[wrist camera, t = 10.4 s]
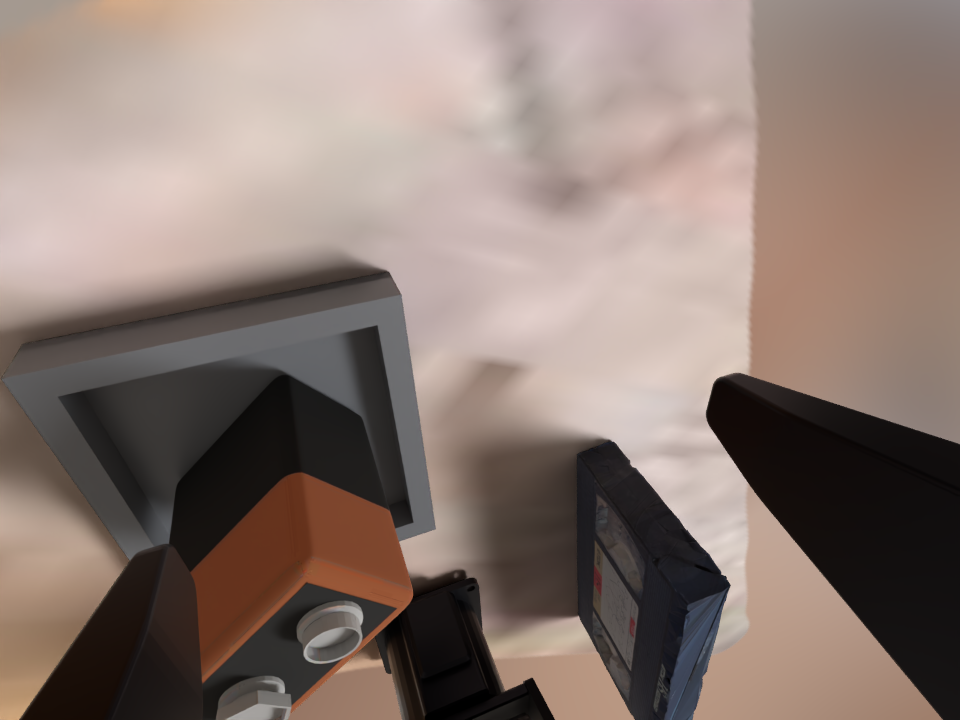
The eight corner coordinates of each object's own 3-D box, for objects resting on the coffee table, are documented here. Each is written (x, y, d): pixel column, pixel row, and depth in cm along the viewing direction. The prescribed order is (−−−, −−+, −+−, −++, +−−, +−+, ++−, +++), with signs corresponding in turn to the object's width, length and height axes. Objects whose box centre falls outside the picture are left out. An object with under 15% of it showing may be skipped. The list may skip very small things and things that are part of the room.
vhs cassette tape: (573, 450, 30) (688, 606, 23) (619, 434, 31) (746, 580, 23) (571, 618, 41) (648, 763, 33) (605, 603, 42) (688, 741, 34)
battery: (170, 483, 21) (132, 761, 14) (280, 365, 20) (306, 594, 13) (265, 517, 24) (278, 765, 16) (366, 413, 23) (432, 627, 15)
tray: (424, 499, 28) (435, 529, 26) (174, 578, 25) (170, 617, 23) (388, 271, 20) (401, 294, 19) (22, 344, 17) (1, 378, 16)
